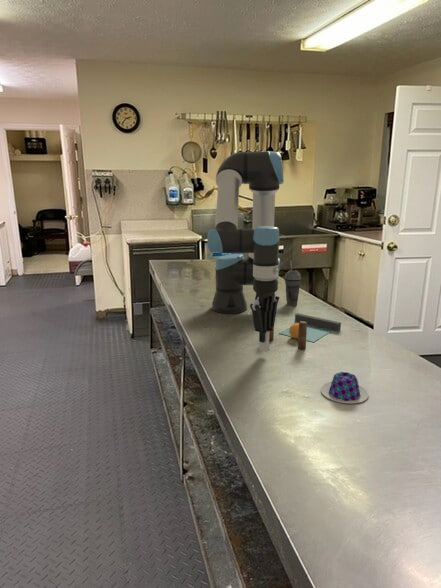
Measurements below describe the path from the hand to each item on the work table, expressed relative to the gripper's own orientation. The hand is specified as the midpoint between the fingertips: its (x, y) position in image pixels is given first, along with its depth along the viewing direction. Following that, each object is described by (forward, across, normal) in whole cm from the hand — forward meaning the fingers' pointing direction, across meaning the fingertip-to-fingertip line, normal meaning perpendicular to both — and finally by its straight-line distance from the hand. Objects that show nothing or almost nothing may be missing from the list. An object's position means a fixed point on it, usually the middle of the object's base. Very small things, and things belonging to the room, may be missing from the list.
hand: (264, 350), depth 137 cm
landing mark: (+2, +27, 0) cm, 27 cm away
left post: (+2, +13, +6) cm, 15 cm away
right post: (+2, +13, -6) cm, 15 cm away
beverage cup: (+2, +55, +22) cm, 59 cm away
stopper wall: (+2, +36, 0) cm, 36 cm away
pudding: (+3, -7, -30) cm, 31 cm away
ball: (-1, +20, 0) cm, 20 cm away
